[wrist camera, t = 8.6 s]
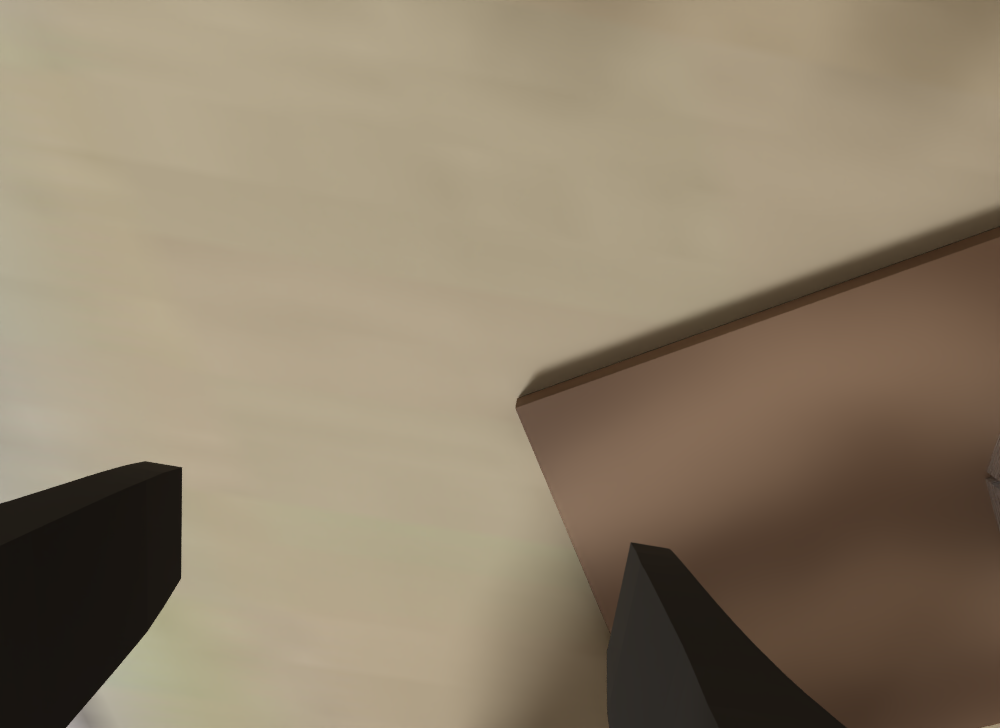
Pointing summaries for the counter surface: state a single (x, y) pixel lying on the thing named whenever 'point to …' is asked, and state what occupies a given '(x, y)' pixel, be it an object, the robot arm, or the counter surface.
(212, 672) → the counter surface
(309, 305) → the counter surface
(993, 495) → the duct stub
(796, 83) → the counter surface
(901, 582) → the brown board
